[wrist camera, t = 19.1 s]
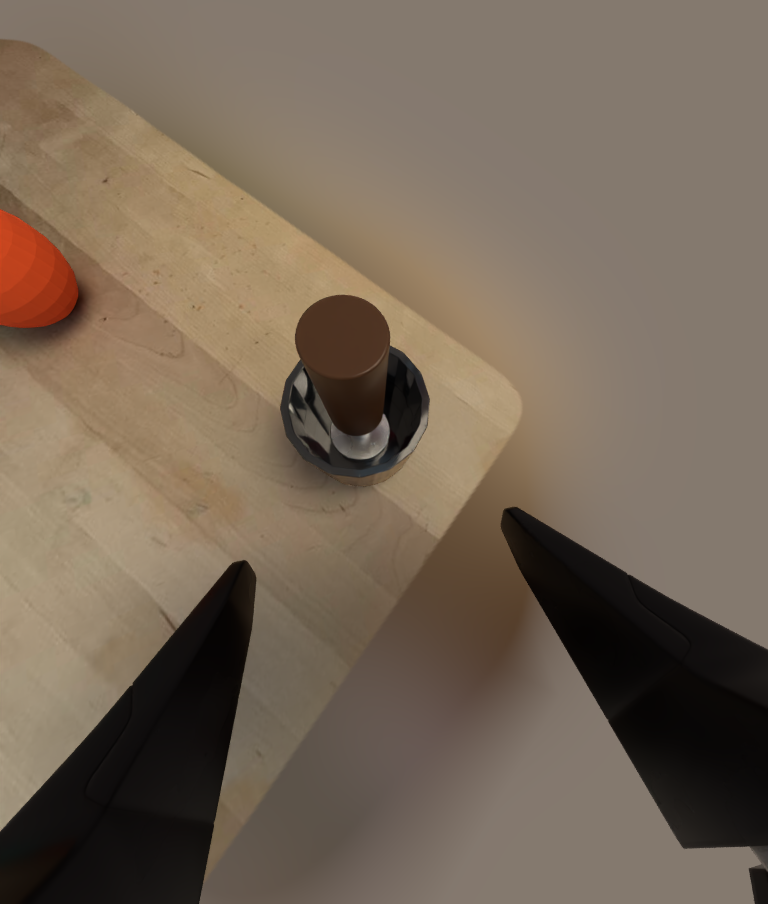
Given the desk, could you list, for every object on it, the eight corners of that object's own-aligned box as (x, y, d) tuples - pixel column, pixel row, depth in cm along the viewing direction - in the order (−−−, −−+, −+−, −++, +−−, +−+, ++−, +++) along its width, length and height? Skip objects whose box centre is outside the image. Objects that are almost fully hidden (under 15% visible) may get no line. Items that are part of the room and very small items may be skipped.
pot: (431, 444, 20) (458, 416, 13) (351, 507, 19) (340, 508, 12) (370, 371, 21) (369, 312, 14) (291, 427, 20) (251, 390, 13)
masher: (365, 474, 19) (352, 427, 8) (320, 439, 19) (244, 344, 8) (400, 430, 19) (437, 326, 8) (356, 397, 20) (333, 253, 9)
